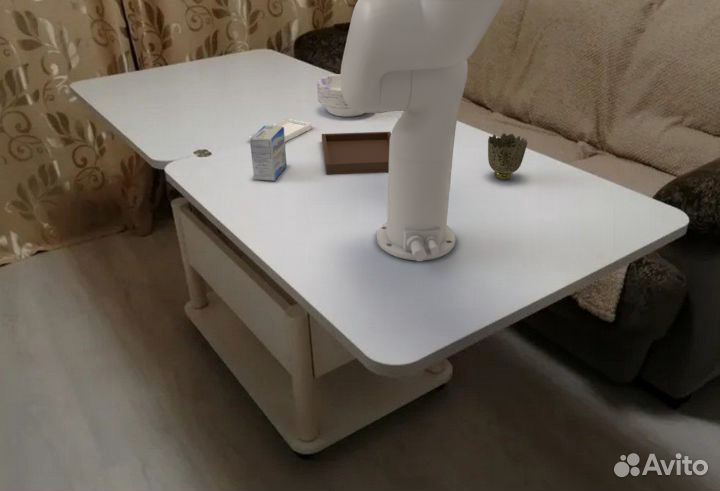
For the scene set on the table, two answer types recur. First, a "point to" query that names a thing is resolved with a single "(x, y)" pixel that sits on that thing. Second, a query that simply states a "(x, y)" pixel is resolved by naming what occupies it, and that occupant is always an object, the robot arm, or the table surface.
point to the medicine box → (268, 152)
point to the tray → (356, 152)
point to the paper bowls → (334, 96)
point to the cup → (505, 155)
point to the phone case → (290, 128)
